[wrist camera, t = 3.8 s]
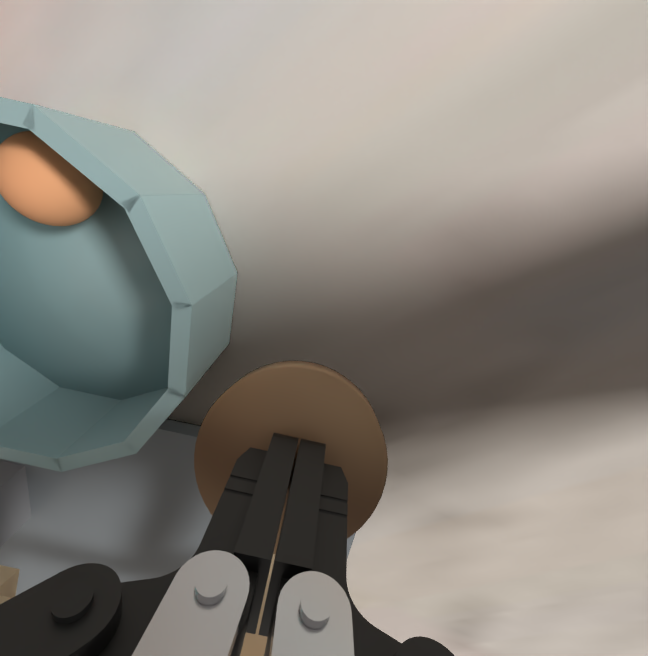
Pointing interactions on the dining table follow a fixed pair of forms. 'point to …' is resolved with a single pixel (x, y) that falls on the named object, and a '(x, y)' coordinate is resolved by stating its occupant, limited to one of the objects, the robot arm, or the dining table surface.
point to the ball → (44, 183)
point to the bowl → (105, 300)
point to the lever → (293, 420)
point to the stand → (106, 512)
